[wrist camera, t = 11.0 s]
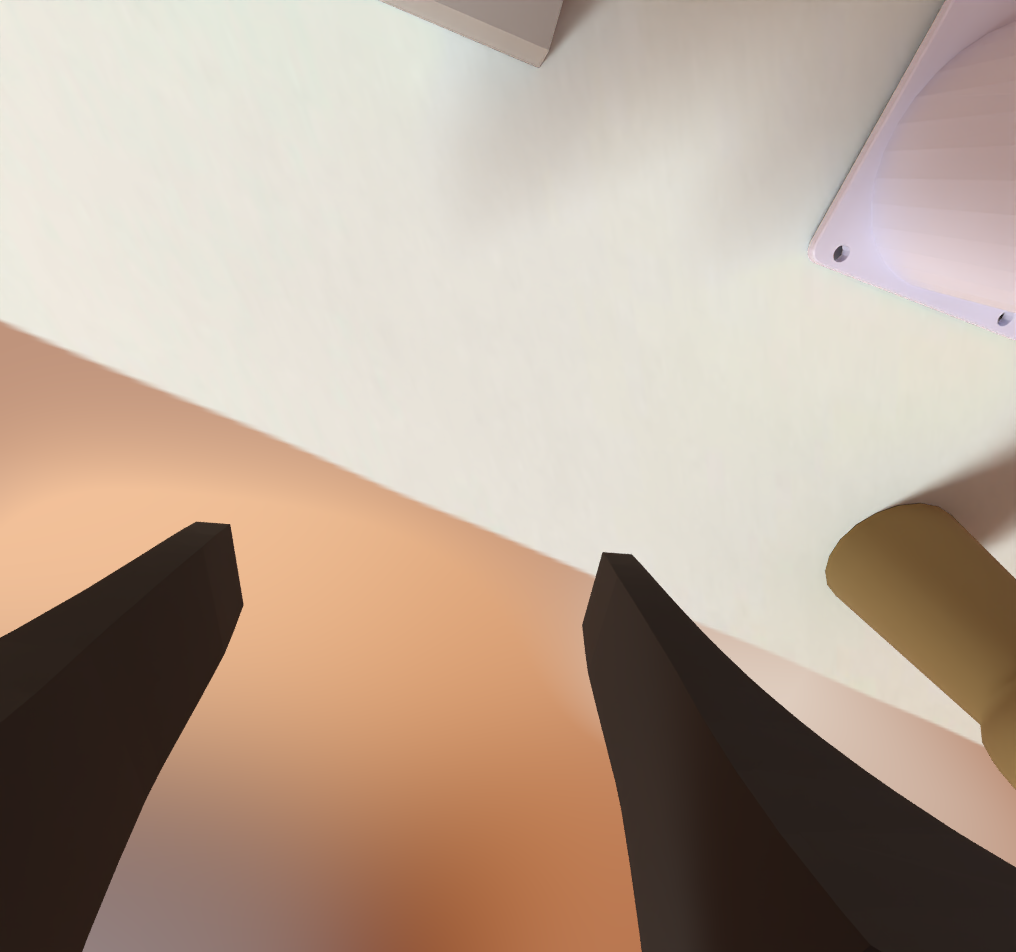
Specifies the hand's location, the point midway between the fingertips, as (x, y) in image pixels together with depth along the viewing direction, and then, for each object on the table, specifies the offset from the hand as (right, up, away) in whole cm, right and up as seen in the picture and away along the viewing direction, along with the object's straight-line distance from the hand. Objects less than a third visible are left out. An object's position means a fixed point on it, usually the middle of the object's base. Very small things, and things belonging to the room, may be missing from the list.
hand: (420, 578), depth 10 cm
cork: (+20, -2, +14) cm, 25 cm away
